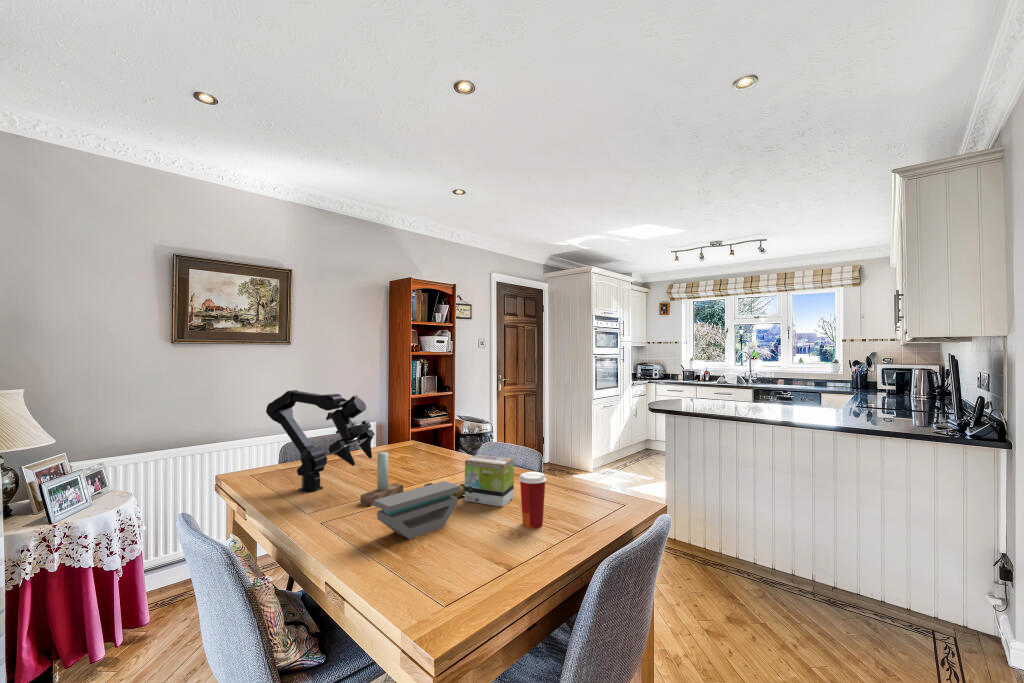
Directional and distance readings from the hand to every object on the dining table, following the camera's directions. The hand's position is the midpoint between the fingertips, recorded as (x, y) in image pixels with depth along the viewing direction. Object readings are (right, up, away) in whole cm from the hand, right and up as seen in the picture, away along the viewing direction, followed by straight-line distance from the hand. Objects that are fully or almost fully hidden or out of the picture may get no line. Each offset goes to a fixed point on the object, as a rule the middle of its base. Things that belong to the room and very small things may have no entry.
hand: (362, 461), depth 164 cm
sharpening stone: (+28, -11, -33) cm, 45 cm away
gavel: (+29, -13, +2) cm, 32 cm away
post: (+9, -9, -5) cm, 13 cm away
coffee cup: (+61, -11, -29) cm, 69 cm away
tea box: (+47, -12, -7) cm, 49 cm away
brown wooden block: (+9, -12, -5) cm, 16 cm away
